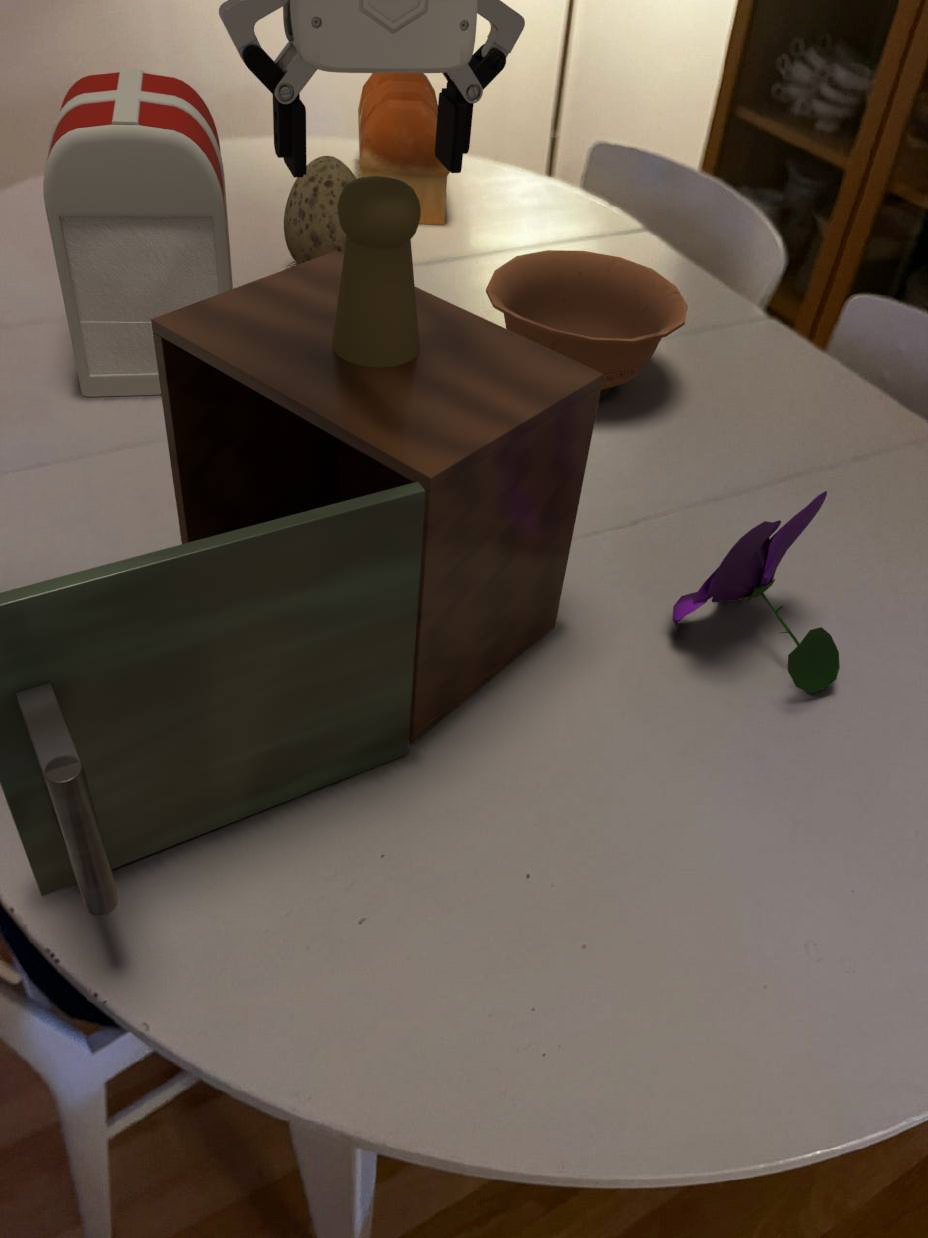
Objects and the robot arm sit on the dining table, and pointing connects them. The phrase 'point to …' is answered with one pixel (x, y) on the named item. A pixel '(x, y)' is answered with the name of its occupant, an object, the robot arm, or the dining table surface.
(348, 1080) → the dining table surface
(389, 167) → the bread
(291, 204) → the decorative egg
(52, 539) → the dining table surface
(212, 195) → the white box red top
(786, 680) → the dining table surface
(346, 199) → the brown rounded tall piece
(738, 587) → the flower
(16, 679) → the cupboard door
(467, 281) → the dining table surface
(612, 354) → the bowl
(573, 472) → the cupboard
